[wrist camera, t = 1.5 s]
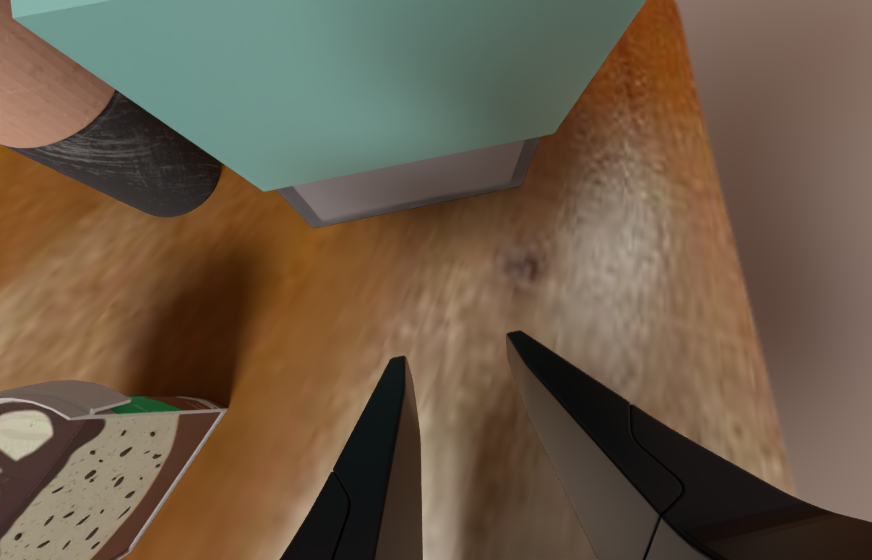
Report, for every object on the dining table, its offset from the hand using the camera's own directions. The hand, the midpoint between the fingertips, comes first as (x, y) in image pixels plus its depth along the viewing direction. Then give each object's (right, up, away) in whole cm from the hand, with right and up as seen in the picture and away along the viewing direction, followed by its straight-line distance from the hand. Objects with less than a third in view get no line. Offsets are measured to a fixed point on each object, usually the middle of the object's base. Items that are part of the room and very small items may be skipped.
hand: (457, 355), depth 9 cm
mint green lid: (-2, +10, +3) cm, 11 cm away
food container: (-19, -9, +12) cm, 24 cm away
